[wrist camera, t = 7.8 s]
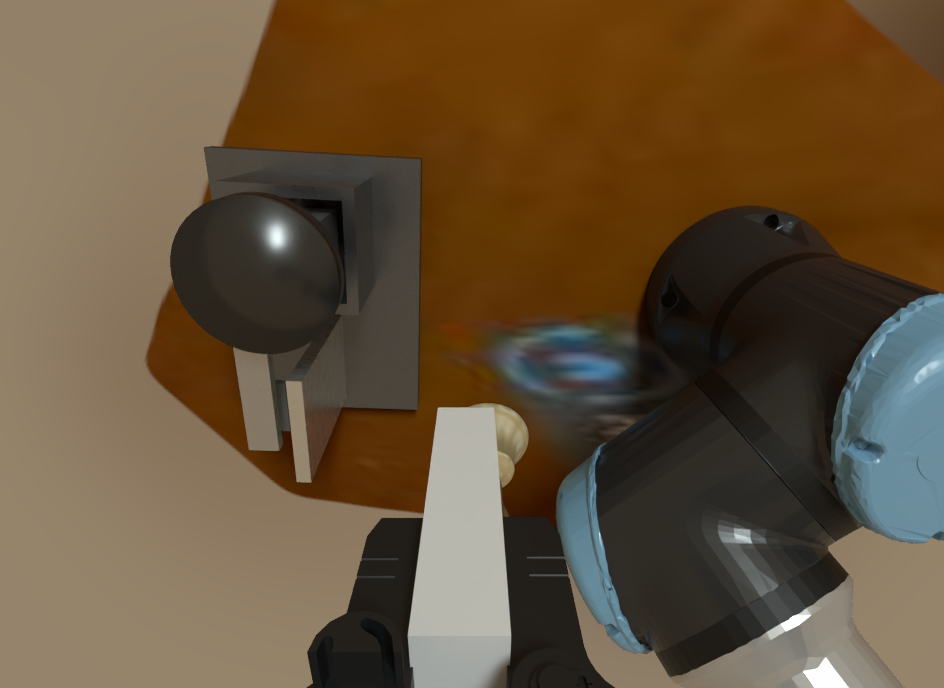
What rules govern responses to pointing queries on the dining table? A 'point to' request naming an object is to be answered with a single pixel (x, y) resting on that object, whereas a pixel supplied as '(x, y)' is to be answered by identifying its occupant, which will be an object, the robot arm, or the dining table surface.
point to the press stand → (346, 282)
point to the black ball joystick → (259, 288)
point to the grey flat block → (283, 405)
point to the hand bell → (507, 442)
